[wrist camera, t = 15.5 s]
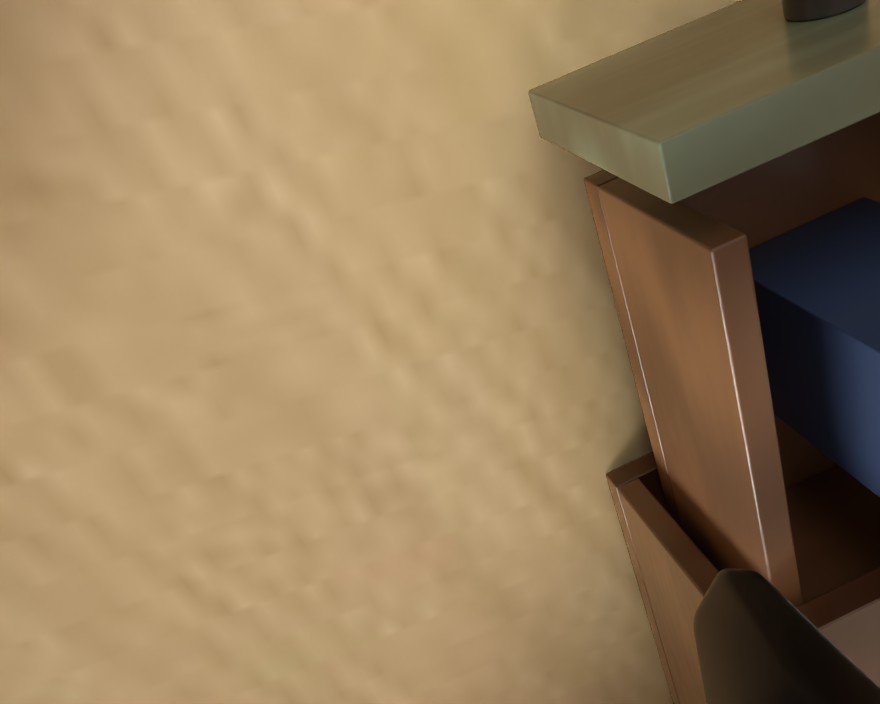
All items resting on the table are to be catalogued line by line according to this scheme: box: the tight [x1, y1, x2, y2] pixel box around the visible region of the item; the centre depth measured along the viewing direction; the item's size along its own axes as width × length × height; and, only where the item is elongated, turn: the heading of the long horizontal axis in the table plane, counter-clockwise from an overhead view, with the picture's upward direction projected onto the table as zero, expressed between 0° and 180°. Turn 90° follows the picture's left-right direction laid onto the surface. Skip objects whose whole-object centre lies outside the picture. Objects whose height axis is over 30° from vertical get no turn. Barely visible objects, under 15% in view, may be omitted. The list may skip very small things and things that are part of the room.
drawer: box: [528, 0, 880, 608], centre depth 21 cm, size 17×11×6 cm
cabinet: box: [606, 452, 880, 704], centre depth 27 cm, size 17×13×8 cm
